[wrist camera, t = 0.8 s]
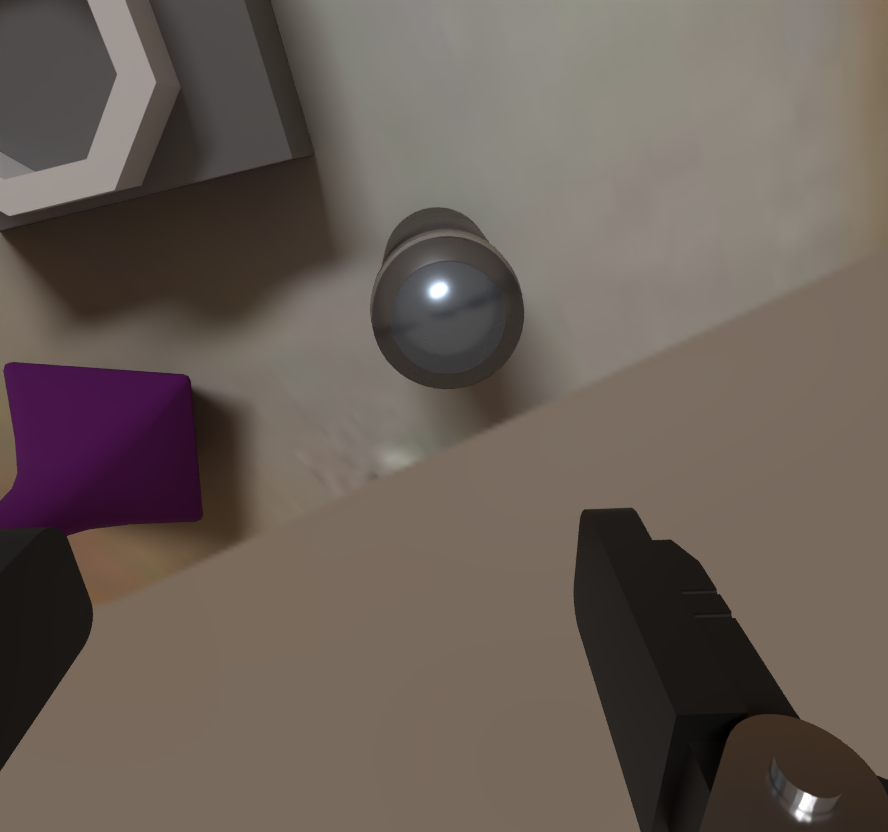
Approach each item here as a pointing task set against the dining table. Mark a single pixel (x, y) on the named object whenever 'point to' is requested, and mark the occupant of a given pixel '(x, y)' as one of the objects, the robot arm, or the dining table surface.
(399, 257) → the lens
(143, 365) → the dining table surface
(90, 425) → the perfume bottle
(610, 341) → the dining table surface
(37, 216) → the camera body
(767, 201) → the dining table surface
